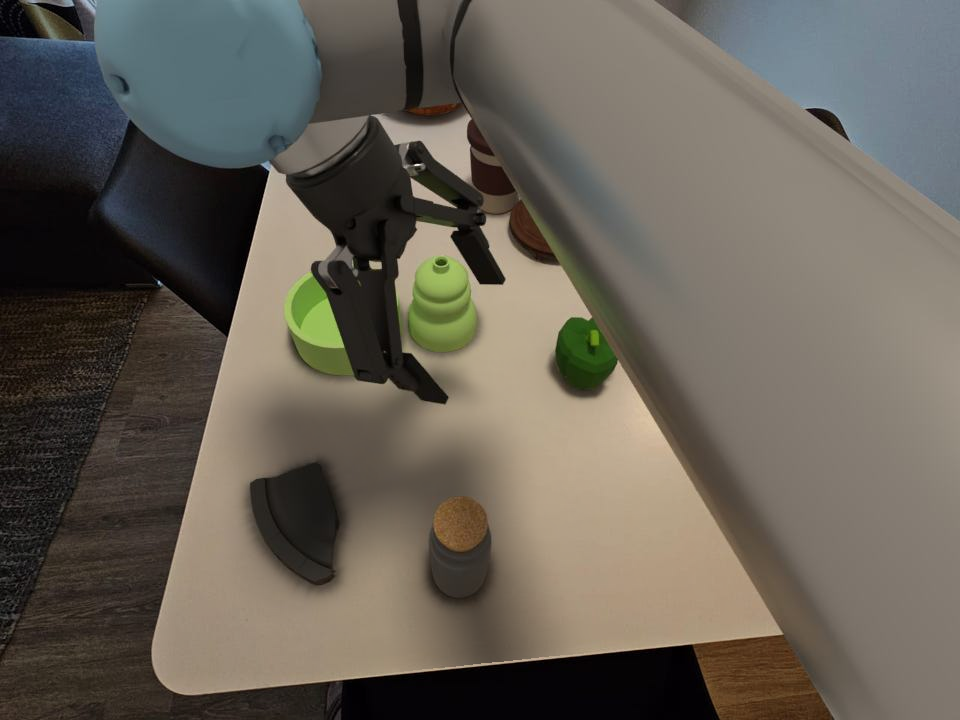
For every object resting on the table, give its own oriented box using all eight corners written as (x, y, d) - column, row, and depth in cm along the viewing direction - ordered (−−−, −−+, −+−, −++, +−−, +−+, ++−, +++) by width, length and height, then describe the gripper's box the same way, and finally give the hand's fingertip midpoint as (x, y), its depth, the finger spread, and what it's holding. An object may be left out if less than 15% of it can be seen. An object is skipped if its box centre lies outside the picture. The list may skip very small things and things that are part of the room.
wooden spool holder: (615, 255, 89) (651, 142, 73) (527, 274, 86) (544, 160, 70) (577, 196, 97) (602, 82, 81) (496, 211, 94) (504, 96, 78)
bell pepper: (563, 338, 79) (576, 290, 71) (619, 361, 77) (638, 315, 69) (539, 382, 75) (549, 336, 67) (597, 408, 73) (615, 364, 65)
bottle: (426, 551, 62) (418, 500, 50) (477, 535, 63) (482, 481, 51) (440, 606, 59) (436, 566, 47) (494, 588, 60) (504, 544, 48)
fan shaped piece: (275, 604, 58) (270, 600, 57) (250, 488, 65) (246, 482, 64) (354, 571, 60) (351, 567, 59) (322, 462, 67) (319, 456, 66)
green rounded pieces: (291, 379, 74) (265, 318, 64) (298, 295, 82) (276, 229, 72) (482, 365, 76) (486, 303, 66) (470, 284, 85) (472, 219, 74)
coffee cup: (453, 204, 95) (453, 121, 82) (487, 174, 100) (492, 92, 87) (503, 228, 92) (510, 147, 80) (535, 196, 97) (547, 115, 84)
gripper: (373, 48, 45) (482, 241, 60) (181, 285, 34) (373, 448, 49) (447, 25, 41) (545, 238, 56) (257, 286, 30) (442, 465, 45)
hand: (465, 337), depth 53 cm, fingers open, 13 cm apart
